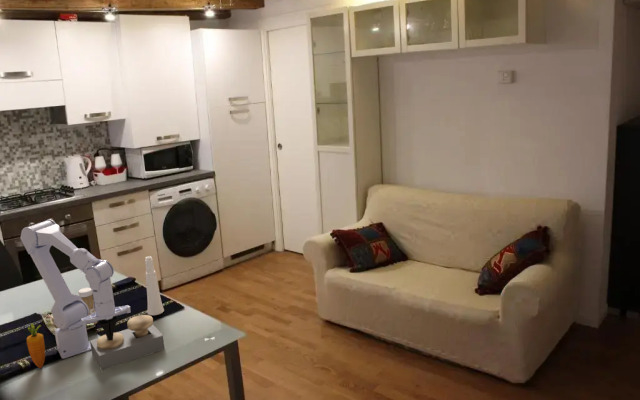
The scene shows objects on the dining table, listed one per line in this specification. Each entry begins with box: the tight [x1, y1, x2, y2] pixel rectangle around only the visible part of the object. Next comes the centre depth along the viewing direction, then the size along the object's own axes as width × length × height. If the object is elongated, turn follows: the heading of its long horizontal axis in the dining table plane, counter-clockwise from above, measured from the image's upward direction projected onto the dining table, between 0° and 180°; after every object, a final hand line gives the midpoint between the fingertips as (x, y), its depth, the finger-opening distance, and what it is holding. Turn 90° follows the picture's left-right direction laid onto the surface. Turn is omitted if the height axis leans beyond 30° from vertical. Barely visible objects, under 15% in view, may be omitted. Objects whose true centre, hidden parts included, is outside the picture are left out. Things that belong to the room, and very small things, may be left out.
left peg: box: [96, 332, 124, 350], centre depth 178 cm, size 8×8×6 cm
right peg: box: [126, 314, 154, 338], centre depth 183 cm, size 8×8×6 cm
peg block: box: [89, 324, 166, 371], centre depth 181 cm, size 20×12×5 cm, turn 125°
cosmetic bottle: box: [144, 255, 165, 316], centre depth 206 cm, size 6×6×22 cm
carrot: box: [26, 323, 46, 369], centre depth 172 cm, size 5×5×15 cm
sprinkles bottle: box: [78, 287, 98, 325], centre depth 200 cm, size 5×5×13 cm
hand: (110, 339), depth 177 cm, fingers closed, pressing on left peg
